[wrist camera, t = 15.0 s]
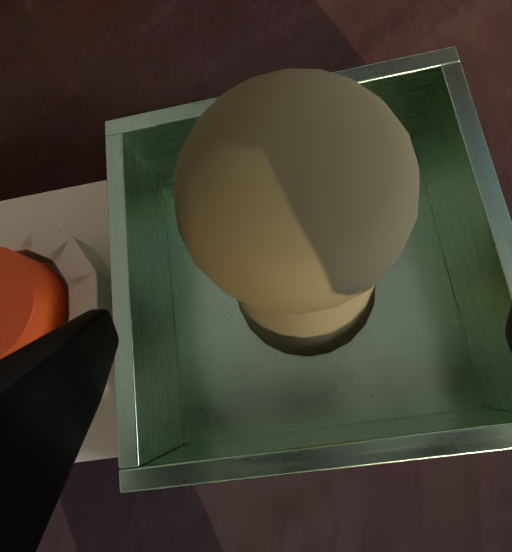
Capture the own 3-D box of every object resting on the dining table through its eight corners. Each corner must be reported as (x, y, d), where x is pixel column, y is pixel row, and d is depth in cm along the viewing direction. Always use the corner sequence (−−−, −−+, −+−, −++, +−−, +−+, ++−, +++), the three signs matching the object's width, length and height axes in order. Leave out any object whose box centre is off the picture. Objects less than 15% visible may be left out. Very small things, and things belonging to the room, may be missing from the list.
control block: (148, 447, 18) (102, 466, 14) (-5, 466, 19) (-88, 489, 15) (133, 198, 21) (93, 157, 17) (3, 223, 22) (-64, 189, 18)
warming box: (500, 422, 16) (583, 441, 11) (175, 461, 17) (118, 494, 12) (420, 130, 20) (455, 44, 15) (154, 181, 21) (103, 120, 16)
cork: (399, 328, 17) (539, 243, 6) (262, 376, 17) (175, 375, 7) (344, 202, 18) (380, -31, 8) (219, 249, 19) (96, 84, 8)
